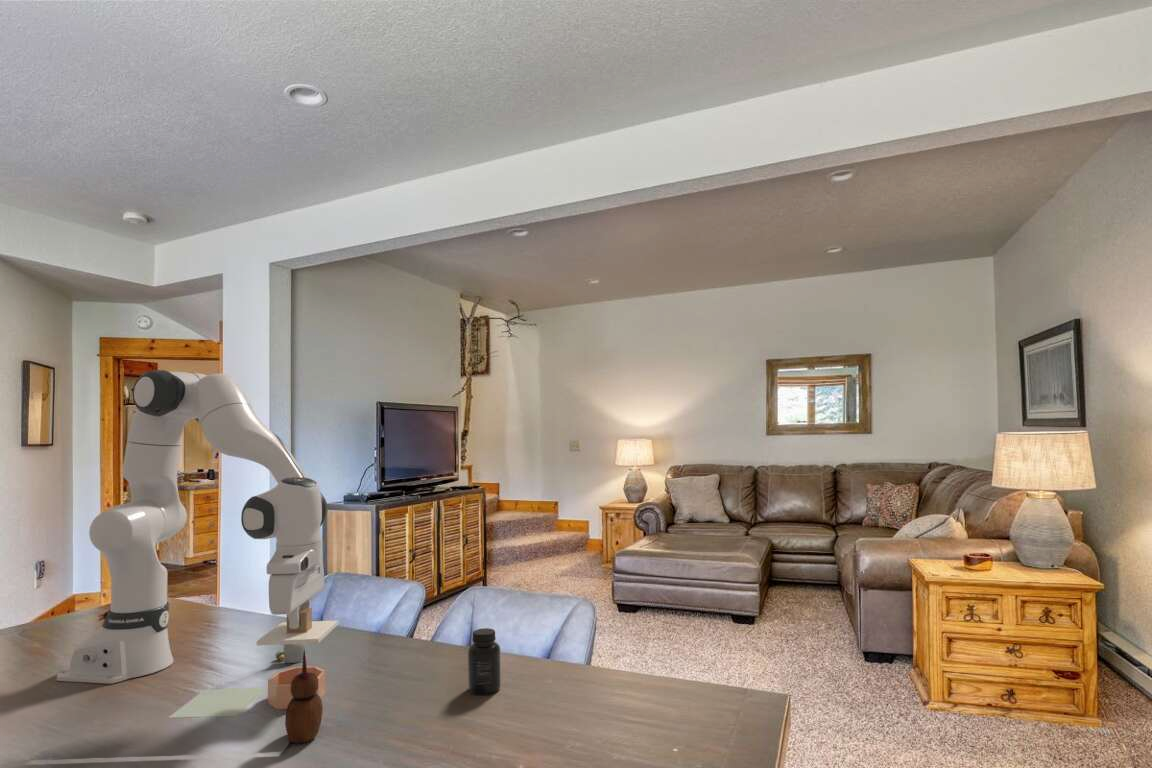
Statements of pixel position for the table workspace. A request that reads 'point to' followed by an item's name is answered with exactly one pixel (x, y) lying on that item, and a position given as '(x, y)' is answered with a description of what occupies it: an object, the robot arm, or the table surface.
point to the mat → (218, 703)
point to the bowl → (282, 685)
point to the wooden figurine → (304, 707)
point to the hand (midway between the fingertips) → (299, 624)
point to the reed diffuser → (291, 653)
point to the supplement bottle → (484, 663)
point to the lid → (299, 631)
